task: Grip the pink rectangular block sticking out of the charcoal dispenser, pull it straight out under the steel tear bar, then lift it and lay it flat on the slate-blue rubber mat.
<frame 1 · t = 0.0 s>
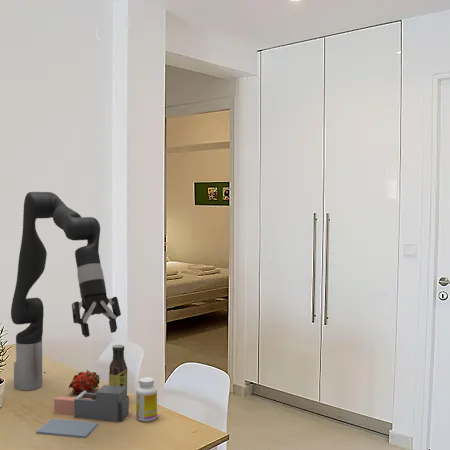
hand: (100, 334, 167), 31 cm above the table, tool tilted 20°, fingers open, 8 cm apart
dragon fruit: (84, 393, 207), on the table
ticket dispenser: (101, 415, 187), on the table
supplement bottle: (146, 418, 185), on the table
pink rectangular block: (73, 413, 188), on the table
sauce bottle: (118, 403, 198), on the table
rubber mat: (68, 428, 176), on the table
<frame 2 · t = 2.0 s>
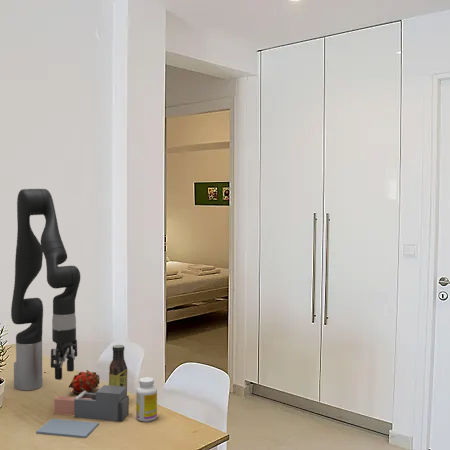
hand: (64, 375, 188), 13 cm above the table, tool pointing down, fingers open, 8 cm apart
nothing on the table moved.
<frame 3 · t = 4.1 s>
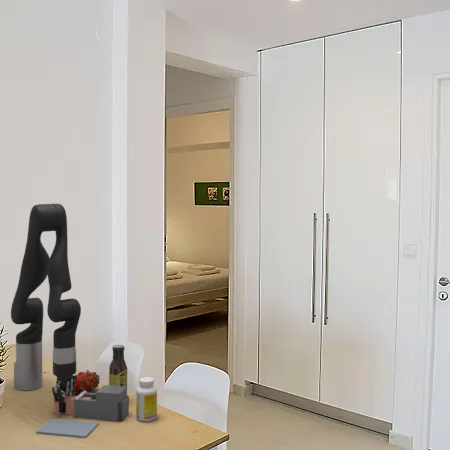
hand: (64, 410, 189), 1 cm above the table, tool pointing down, fingers closed on pink rectangular block, 3 cm apart
pink rectangular block: (73, 412, 188), on the table, touching gripper
everything else where it was.
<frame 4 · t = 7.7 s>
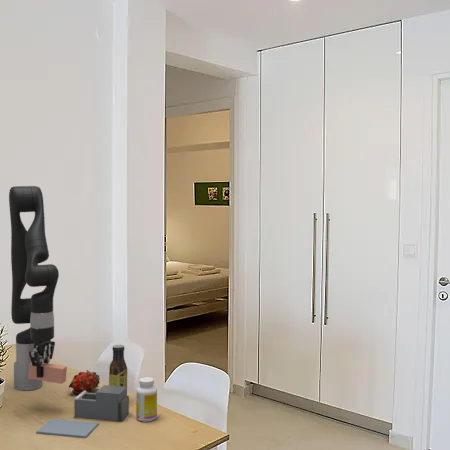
hand: (42, 375, 190), 12 cm above the table, tool pointing down, fingers closed on pink rectangular block, 2 cm apart
pink rectangular block: (47, 379, 190), point 10 cm above the table, touching gripper
everything else where it was.
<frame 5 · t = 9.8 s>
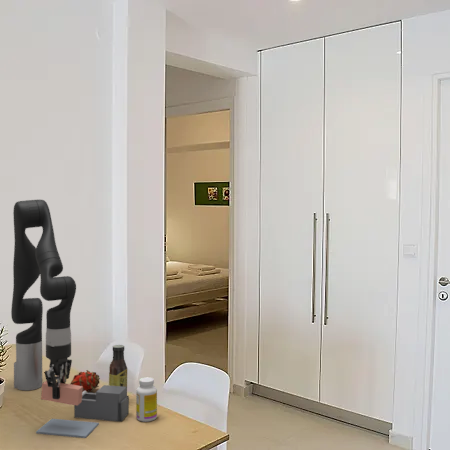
hand: (58, 396, 176), 10 cm above the table, tool pointing down, fingers closed on pink rectangular block, 2 cm apart
pink rectangular block: (61, 400, 176), point 9 cm above the table, touching gripper
everything else where it was.
when the fingers open (3 cm above the table, at t = 11.6 s): pink rectangular block drops 1 cm, resting on rubber mat.
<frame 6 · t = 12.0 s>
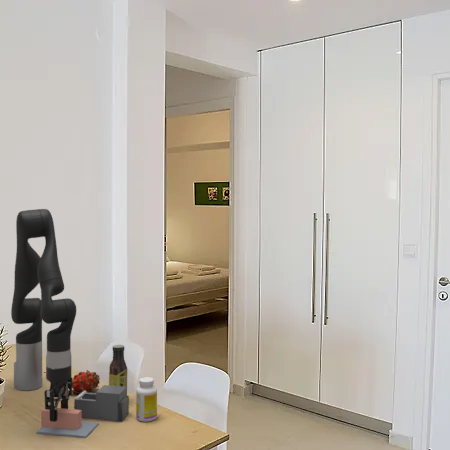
hand: (59, 416, 176), 4 cm above the table, tool pointing down, fingers open, 6 cm apart
pink rectangular block: (61, 426, 177), point 1 cm above the table, touching rubber mat
everything else where it was.
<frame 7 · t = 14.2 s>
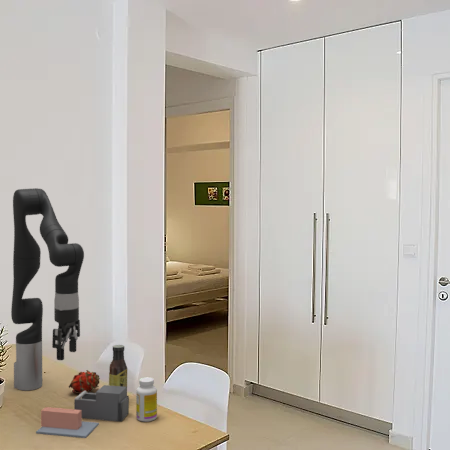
hand: (66, 355, 183), 21 cm above the table, tool pointing down, fingers open, 8 cm apart
nothing on the table moved.
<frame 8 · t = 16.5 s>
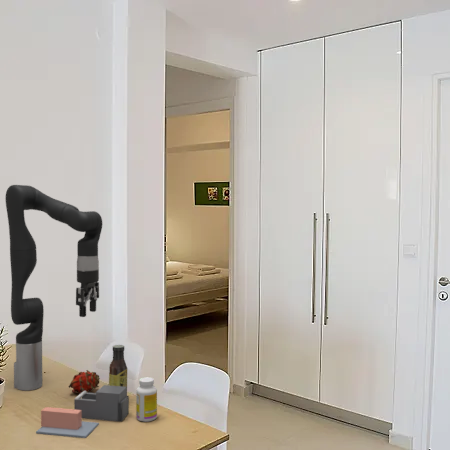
hand: (87, 314, 200), 30 cm above the table, tool pointing down, fingers open, 8 cm apart
nothing on the table moved.
at the end: pink rectangular block inside the target area on the rubber mat (2.3 cm from its centre), point 0.6 cm above the rubber mat's base; pink rectangular block tilted 0°; the gripper is holding nothing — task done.
